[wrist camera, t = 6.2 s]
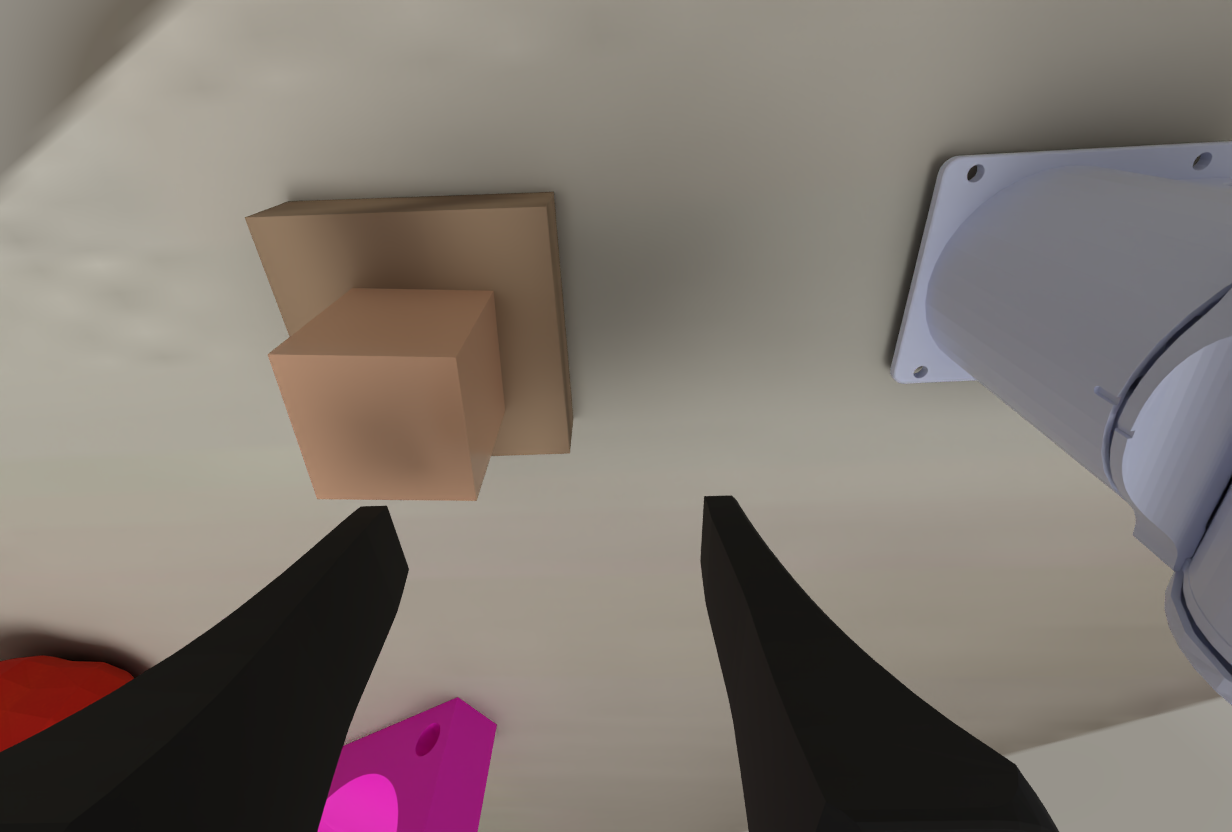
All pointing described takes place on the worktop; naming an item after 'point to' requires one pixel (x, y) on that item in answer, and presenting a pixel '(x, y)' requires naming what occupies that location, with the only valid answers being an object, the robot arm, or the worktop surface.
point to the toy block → (414, 775)
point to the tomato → (49, 692)
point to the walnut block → (441, 282)
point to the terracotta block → (395, 393)
